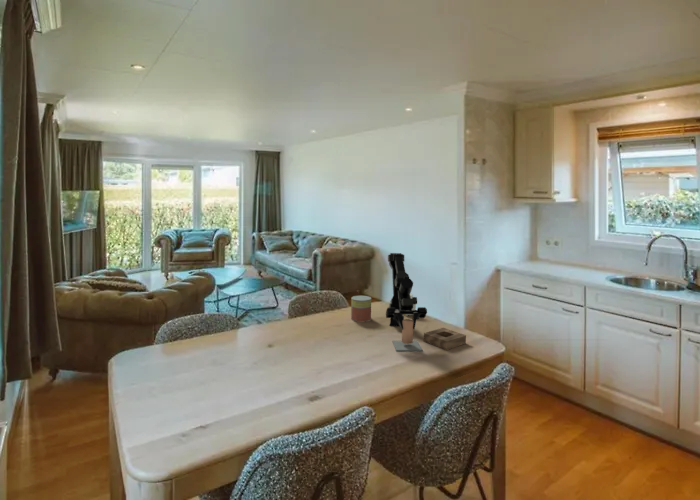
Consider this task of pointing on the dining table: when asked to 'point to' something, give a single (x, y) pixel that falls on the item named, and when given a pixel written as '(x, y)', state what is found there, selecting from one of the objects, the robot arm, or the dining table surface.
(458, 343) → the pocket block
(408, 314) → the medicine bottle
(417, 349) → the pad
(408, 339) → the peg
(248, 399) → the dining table surface
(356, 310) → the canned food
